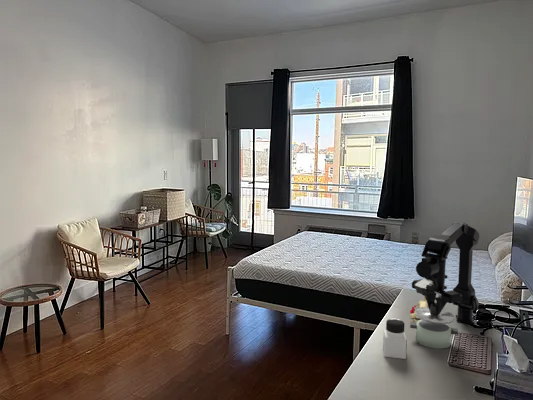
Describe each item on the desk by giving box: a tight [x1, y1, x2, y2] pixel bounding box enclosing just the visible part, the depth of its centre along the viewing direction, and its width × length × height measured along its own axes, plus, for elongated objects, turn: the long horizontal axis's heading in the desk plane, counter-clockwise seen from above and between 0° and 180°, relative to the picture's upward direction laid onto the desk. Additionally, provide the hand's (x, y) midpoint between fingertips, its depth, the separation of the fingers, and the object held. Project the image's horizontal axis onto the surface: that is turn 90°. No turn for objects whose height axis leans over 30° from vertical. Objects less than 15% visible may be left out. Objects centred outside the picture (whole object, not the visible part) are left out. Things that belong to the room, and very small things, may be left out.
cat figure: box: [409, 295, 428, 323], centre depth 171 cm, size 10×9×25 cm
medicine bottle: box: [382, 317, 408, 360], centre depth 139 cm, size 7×7×12 cm
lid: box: [415, 301, 455, 325], centre depth 147 cm, size 13×13×5 cm
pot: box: [409, 320, 459, 350], centre depth 148 cm, size 12×16×6 cm
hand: (434, 312), depth 147 cm, fingers closed on lid, 3 cm apart
